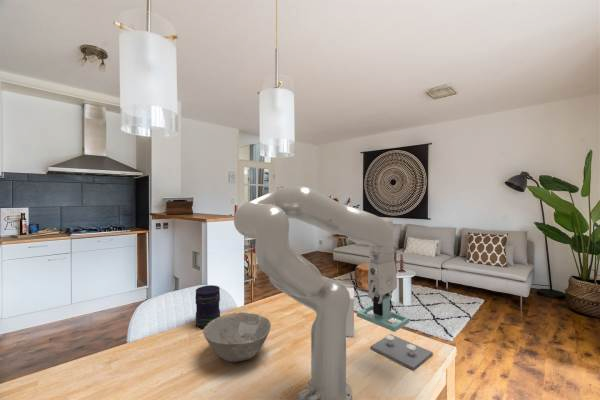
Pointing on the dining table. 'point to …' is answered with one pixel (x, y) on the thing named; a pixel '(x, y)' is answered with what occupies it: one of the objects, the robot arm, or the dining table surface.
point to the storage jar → (207, 305)
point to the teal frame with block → (384, 316)
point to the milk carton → (350, 312)
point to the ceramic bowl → (237, 335)
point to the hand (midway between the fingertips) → (382, 311)
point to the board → (402, 351)
